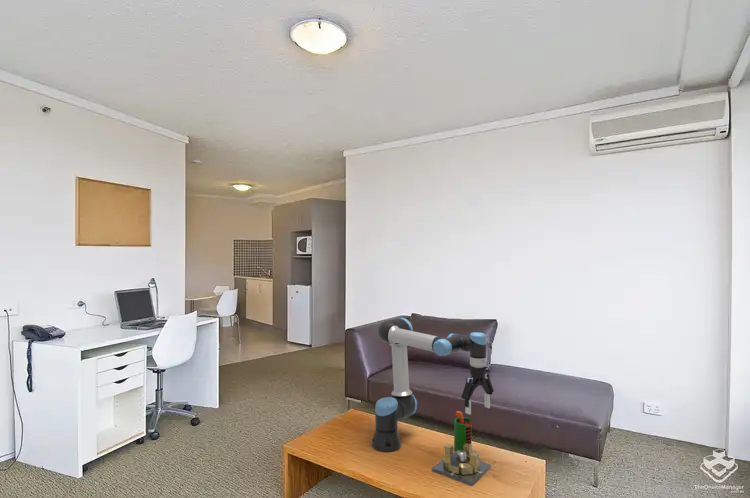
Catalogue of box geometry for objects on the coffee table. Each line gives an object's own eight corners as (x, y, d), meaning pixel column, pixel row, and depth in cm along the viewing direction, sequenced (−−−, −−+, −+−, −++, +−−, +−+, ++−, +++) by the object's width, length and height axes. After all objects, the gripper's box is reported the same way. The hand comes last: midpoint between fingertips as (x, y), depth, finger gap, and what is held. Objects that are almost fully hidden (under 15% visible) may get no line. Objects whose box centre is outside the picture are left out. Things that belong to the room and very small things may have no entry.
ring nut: (437, 466, 190) (437, 451, 190) (453, 453, 203) (453, 439, 203) (469, 478, 180) (469, 461, 180) (484, 463, 193) (484, 448, 193)
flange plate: (431, 471, 190) (431, 453, 190) (452, 454, 206) (452, 438, 206) (472, 486, 178) (472, 467, 178) (490, 467, 193) (490, 450, 193)
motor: (472, 457, 203) (472, 417, 203) (453, 456, 204) (453, 415, 205) (471, 448, 213) (471, 409, 213) (454, 446, 214) (454, 408, 215)
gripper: (466, 371, 186) (465, 419, 185) (501, 363, 200) (501, 407, 200) (453, 368, 192) (453, 413, 191) (488, 360, 206) (488, 402, 206)
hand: (477, 410), depth 196 cm, fingers open, 13 cm apart
